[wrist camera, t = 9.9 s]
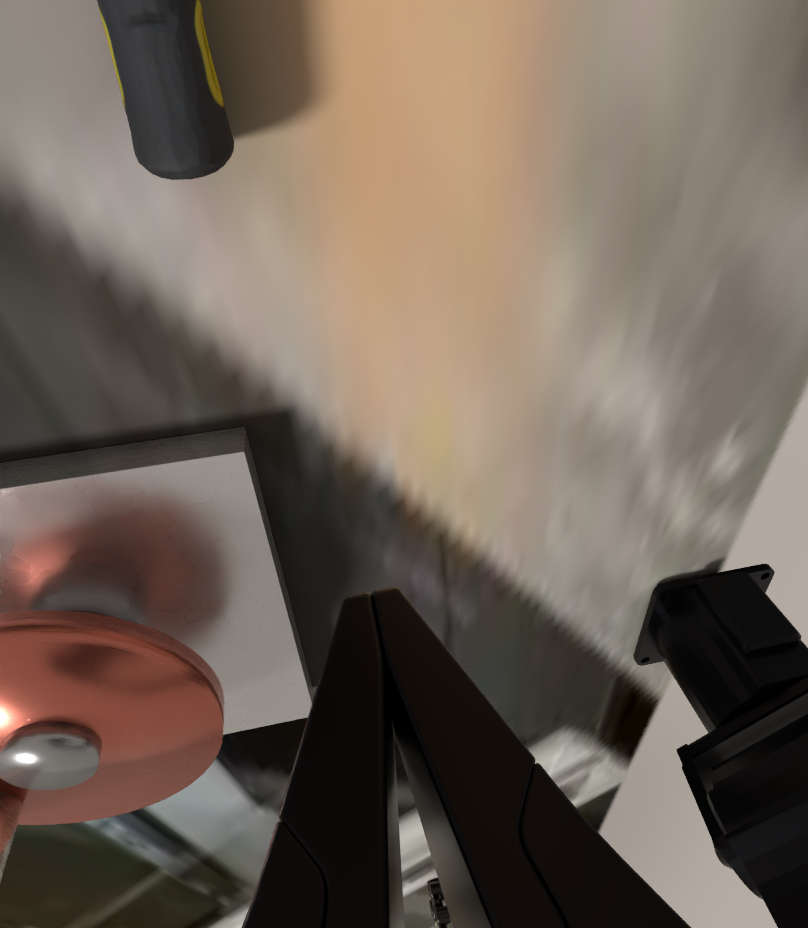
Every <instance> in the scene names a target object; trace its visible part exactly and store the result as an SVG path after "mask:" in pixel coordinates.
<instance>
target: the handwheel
mask: <svg viewBox="0 0 808 928" xmlns="http://www.w3.org/2000/svg"><path fill="white" fill-rule="evenodd" d="M224 705H225V702H224V693H223V689H222V686H221V683H220V681H219V679H218V677H217V676H216V674H215V672H214V671H213V669H212V668H211V667H210V666H209V665H208V664H207V662H206V661H205V660H204V659H203V658H202V657H201V656H199V655H198V654H197V653H196V652H194V651H193V650H192V649H191V648H189V647H188V646H186V645H184V644H183V643H181V642H180V641H178V640H176V639H175V638H173V637H170V636H168V635H166V634H164V633H162V632H160V631H158V630H155V629H152V628H150V627H147V626H144V625H141V624H138V623H135V622H131V621H127V620H123V619H119V618H115V617H111V616H105V615H99V614H93V613H86V612H74V611H63V610H31V611H17V612H6V613H0V882H1V878H2V875H3V872H4V868H5V865H6V862H7V858H8V855H9V851H10V848H11V845H12V841H13V838H14V834H15V831H16V828H17V824H21V825H47V824H64V823H76V822H83V821H90V820H97V819H102V818H107V817H112V816H116V815H120V814H124V813H128V812H131V811H135V810H138V809H141V808H144V807H146V806H149V805H152V804H154V803H157V802H159V801H161V800H164V799H166V798H168V797H170V796H172V795H173V794H175V793H177V792H179V791H181V790H182V789H184V788H185V787H187V786H188V785H190V784H191V783H193V782H194V781H195V780H196V779H197V778H199V777H200V776H201V775H202V774H203V773H204V772H205V771H206V770H207V769H208V768H209V766H210V765H211V764H212V763H213V761H214V759H215V758H216V756H217V755H218V752H219V750H220V747H221V744H222V738H223V726H224Z"/></svg>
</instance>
